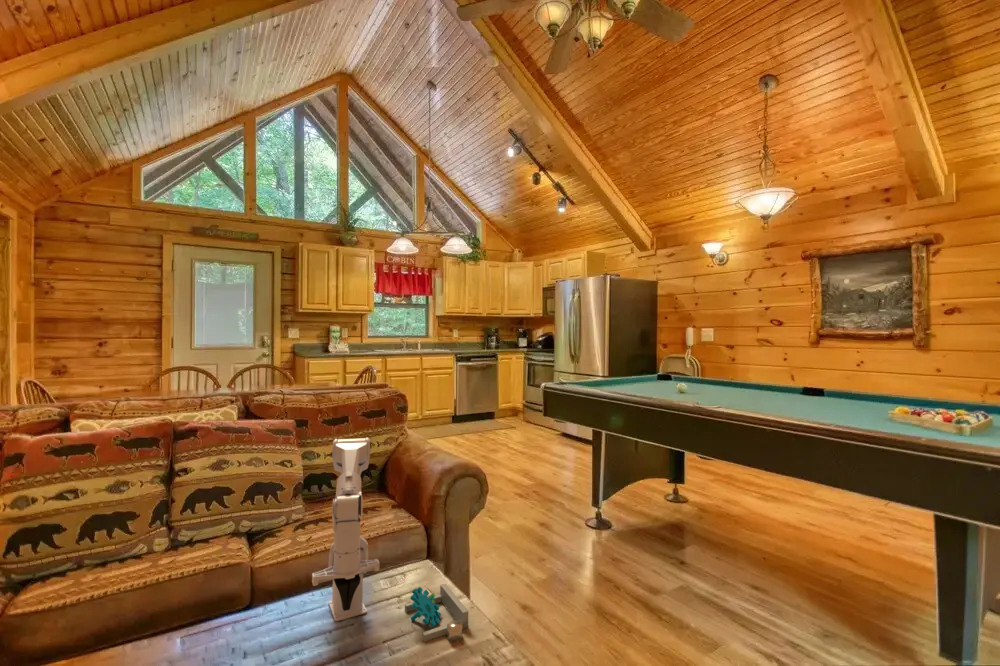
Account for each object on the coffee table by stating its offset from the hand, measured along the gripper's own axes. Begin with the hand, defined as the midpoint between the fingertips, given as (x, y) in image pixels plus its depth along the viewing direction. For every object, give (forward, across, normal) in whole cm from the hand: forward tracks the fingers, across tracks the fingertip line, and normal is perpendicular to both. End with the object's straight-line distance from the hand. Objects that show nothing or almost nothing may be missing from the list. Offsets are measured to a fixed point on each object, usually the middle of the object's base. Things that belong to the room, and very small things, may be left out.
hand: (346, 608), depth 108 cm
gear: (+10, +20, +2) cm, 23 cm away
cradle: (+10, +22, +2) cm, 25 cm away
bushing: (+10, +24, -7) cm, 27 cm away
